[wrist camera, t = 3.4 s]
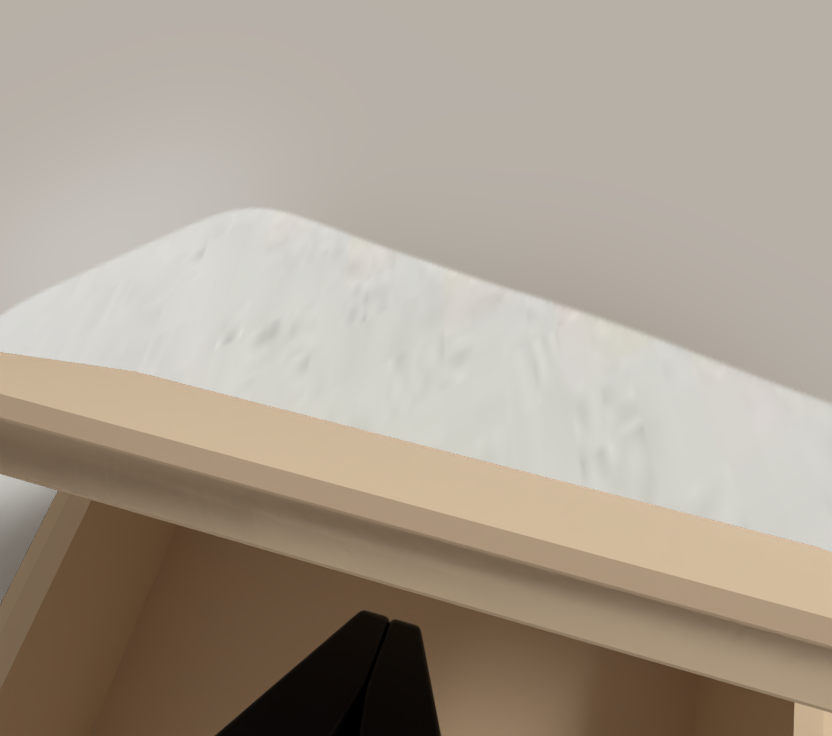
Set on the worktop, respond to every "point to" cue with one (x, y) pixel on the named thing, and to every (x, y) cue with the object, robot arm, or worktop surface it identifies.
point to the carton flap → (430, 523)
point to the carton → (301, 645)
